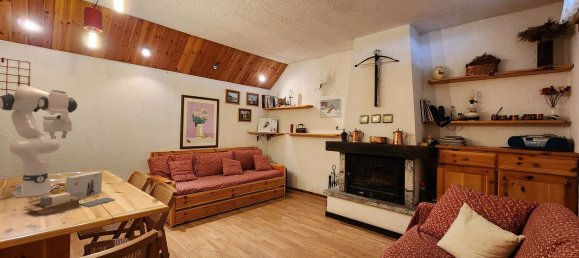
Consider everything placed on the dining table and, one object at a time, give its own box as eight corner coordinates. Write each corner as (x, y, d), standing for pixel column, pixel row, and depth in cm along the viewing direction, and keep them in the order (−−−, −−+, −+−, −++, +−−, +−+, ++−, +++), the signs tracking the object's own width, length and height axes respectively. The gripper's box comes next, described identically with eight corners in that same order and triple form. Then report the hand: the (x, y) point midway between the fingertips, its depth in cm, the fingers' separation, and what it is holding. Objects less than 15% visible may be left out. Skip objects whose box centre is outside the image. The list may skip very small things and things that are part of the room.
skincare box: (71, 201, 160) (71, 177, 159) (64, 201, 161) (65, 176, 160) (102, 193, 180) (102, 171, 180) (95, 192, 181) (96, 171, 181)
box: (40, 211, 142) (40, 197, 142) (65, 205, 154) (65, 192, 153) (45, 212, 140) (45, 198, 140) (70, 206, 152) (70, 193, 151)
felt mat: (79, 204, 155) (79, 204, 155) (106, 198, 169) (106, 197, 169) (88, 207, 151) (88, 206, 151) (115, 200, 166) (115, 199, 166)
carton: (20, 212, 140) (21, 202, 140) (69, 200, 161) (69, 192, 161) (38, 218, 133) (39, 208, 133) (87, 205, 154) (87, 197, 154)
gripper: (63, 116, 162) (63, 137, 163) (40, 115, 143) (40, 139, 143) (75, 117, 164) (74, 137, 164) (53, 116, 144) (53, 139, 144)
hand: (58, 138), depth 153 cm, fingers open, 8 cm apart
